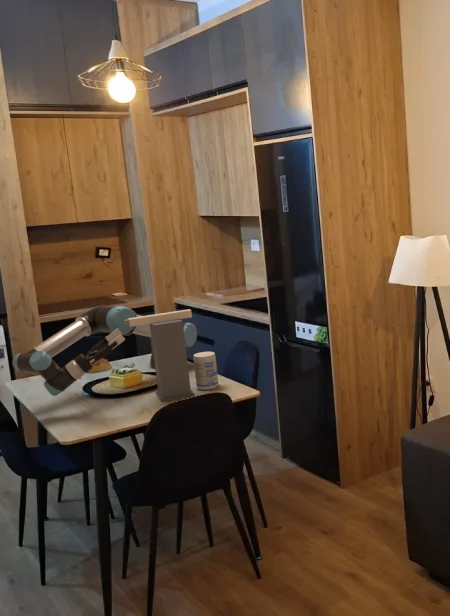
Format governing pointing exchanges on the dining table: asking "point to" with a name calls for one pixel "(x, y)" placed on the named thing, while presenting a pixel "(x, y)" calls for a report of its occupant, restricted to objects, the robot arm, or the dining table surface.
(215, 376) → the supplement tub
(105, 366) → the pastry
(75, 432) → the dining table surface
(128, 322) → the beige square bar
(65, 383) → the robot arm
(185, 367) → the stand
